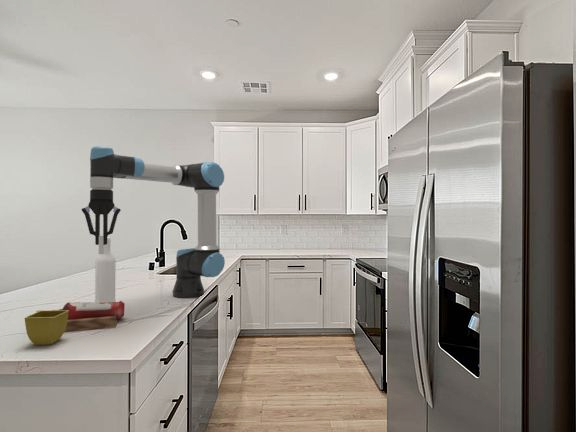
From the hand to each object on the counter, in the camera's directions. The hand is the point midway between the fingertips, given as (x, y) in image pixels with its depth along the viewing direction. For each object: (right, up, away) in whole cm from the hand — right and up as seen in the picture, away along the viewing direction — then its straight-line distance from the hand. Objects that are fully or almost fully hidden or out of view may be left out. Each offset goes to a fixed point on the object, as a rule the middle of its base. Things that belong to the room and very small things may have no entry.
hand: (101, 253), depth 133 cm
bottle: (-10, -26, +23) cm, 36 cm away
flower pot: (-6, -26, -21) cm, 33 cm away
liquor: (+7, -22, +5) cm, 23 cm away
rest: (-7, -25, -3) cm, 26 cm away
